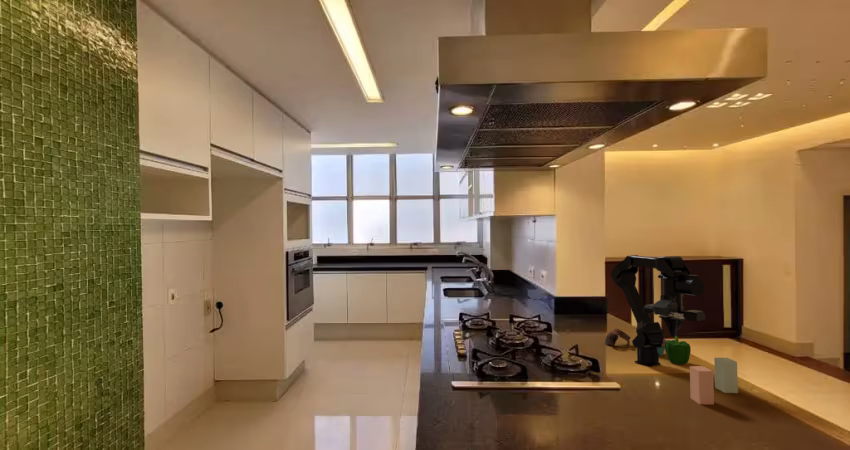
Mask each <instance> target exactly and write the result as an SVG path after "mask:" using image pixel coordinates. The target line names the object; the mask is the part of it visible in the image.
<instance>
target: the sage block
mask: <svg viewBox="0 0 850 450" xmlns="http://www.w3.org/2000/svg"><path fill="white" fill-rule="evenodd" d="M713 360H714V361H713V362H714V388H715V389H716V390H719V391H720V392H722V393H724V394H739V385H738V383H739V382H738V380H739V379H738V378H739V377H738V361H736V360H734V359H731V358H729V357H714V358H713Z"/></svg>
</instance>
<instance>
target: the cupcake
mask: <svg viewBox="0 0 850 450" xmlns="http://www.w3.org/2000/svg"><path fill="white" fill-rule="evenodd" d="M666 341H667V339H665V338H664V339H663V342H662V346H661V348H657V349H658V353H659V356H663V355H664V352H665V343H666Z"/></svg>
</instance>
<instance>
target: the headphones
mask: <svg viewBox="0 0 850 450" xmlns="http://www.w3.org/2000/svg"><path fill="white" fill-rule="evenodd" d="M619 338H621V339H623V340H625V341H626V347H627V348H629V346H630V339H631V336H630V335H628V334H627V333H626V332H624V331H622V330H620V329H619V328H617V327H616V328H614V329H613V330H609V332H608V333H607V335H606V337H605V340H604V344H605V345H606V346H608V347H609V346H610V345H611V346H615V345H616V343H617V341H618V340H619Z"/></svg>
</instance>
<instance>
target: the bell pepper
mask: <svg viewBox="0 0 850 450" xmlns="http://www.w3.org/2000/svg"><path fill="white" fill-rule="evenodd" d="M672 338H674V339H672V340H670V339H666V343H665V350H664V352H665V354H666V358H667V359H668V360H669V362H671V363H672V364H675V365H683V364H688V363H689V361H690V356H691V347H692V346H691V345H690V343H688V342H687V341H685V340H682V341H681V340H680V341H679V337H678V336H677V335H676V337H672Z"/></svg>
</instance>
